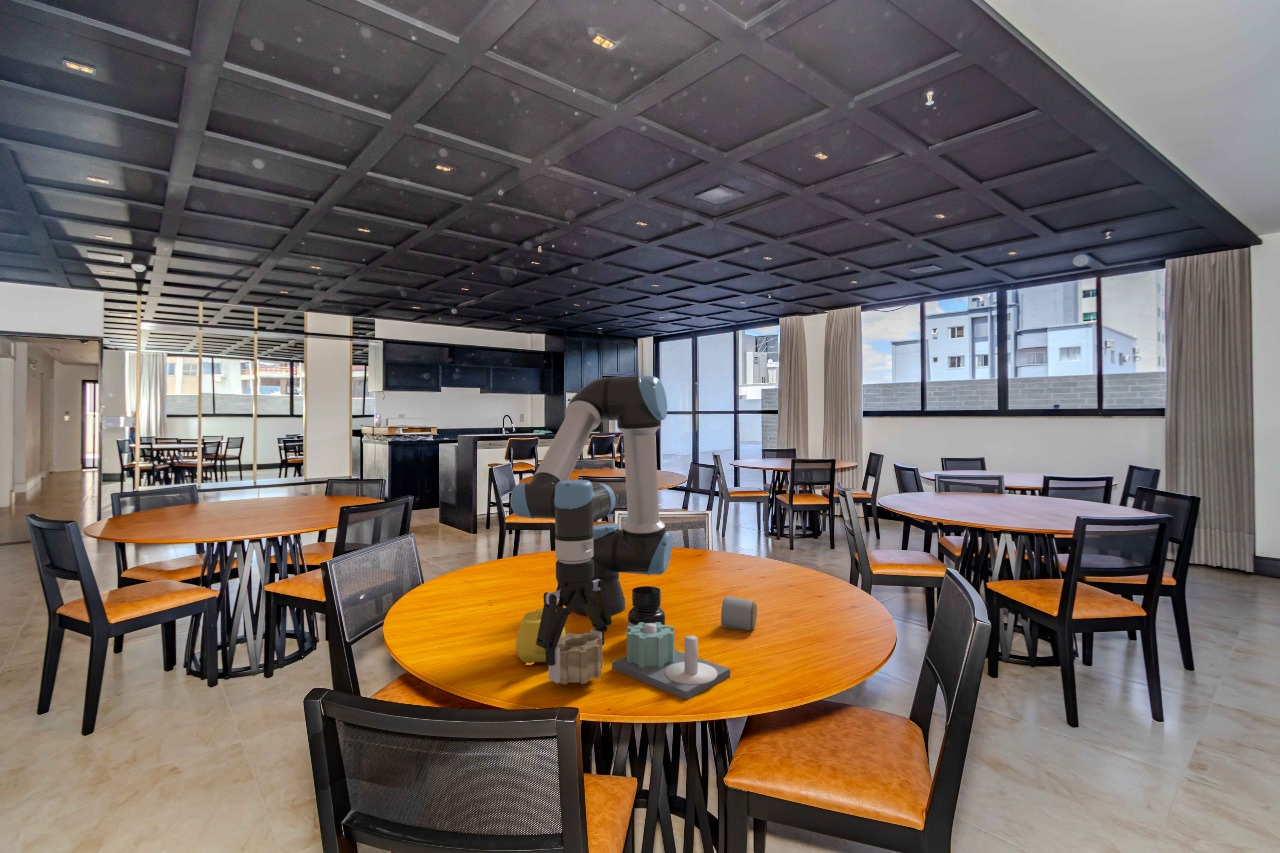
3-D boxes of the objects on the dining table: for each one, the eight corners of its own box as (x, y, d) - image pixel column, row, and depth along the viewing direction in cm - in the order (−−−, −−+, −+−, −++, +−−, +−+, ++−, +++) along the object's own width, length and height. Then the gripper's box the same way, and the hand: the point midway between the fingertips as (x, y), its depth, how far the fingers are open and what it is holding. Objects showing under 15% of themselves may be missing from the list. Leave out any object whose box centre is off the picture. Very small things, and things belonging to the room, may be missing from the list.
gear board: (610, 668, 121) (610, 627, 121) (655, 649, 131) (655, 612, 131) (689, 701, 106) (689, 654, 106) (733, 677, 116) (732, 635, 116)
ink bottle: (629, 633, 142) (628, 584, 142) (664, 633, 141) (664, 584, 142) (627, 648, 132) (626, 595, 132) (665, 648, 132) (665, 595, 132)
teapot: (568, 675, 118) (567, 622, 118) (513, 679, 116) (512, 625, 116) (565, 643, 135) (565, 597, 135) (518, 645, 134) (518, 599, 134)
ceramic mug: (753, 635, 140) (753, 603, 140) (720, 631, 143) (720, 600, 143) (759, 622, 150) (759, 592, 150) (728, 618, 153) (728, 589, 153)
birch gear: (540, 673, 114) (539, 642, 113) (579, 657, 121) (578, 629, 121) (572, 689, 107) (572, 657, 106) (612, 671, 114) (611, 641, 114)
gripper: (539, 574, 103) (541, 698, 103) (628, 551, 119) (630, 658, 119) (515, 567, 108) (516, 684, 108) (604, 546, 124) (605, 648, 124)
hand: (576, 671), depth 114 cm, fingers closed on birch gear, 10 cm apart
